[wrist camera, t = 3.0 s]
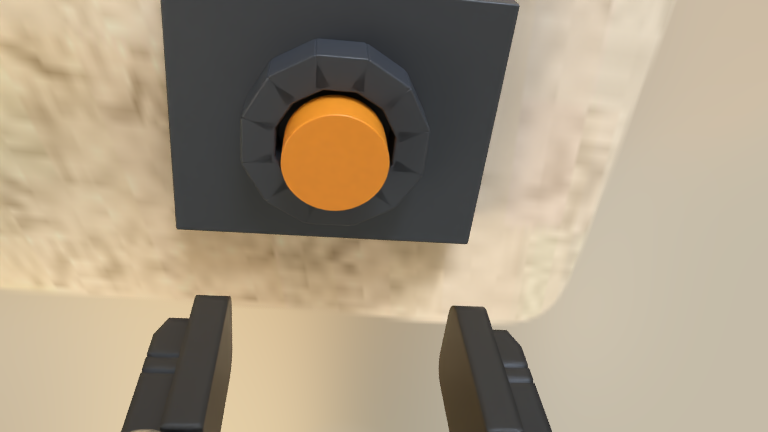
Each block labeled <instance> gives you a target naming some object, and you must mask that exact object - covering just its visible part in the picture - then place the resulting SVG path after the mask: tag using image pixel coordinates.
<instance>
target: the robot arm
mask: <svg viewBox="0 0 768 432" xmlns="http://www.w3.org/2000/svg"><path fill="white" fill-rule="evenodd" d="M231 361H232V305H231V297H230V296H208V295H196V297H195V300H194V303H193V307H192V311H191V314H190V318H189V319H187V318H169V319H168V320H167V321H166V322H165V323H164V324H163V325H162V326H161V327H160V328H159V329H158V330H157V331H156V332H155V333H154V334H153V337H152V340H151V343H150V346H149V350H148V352H147V357H146V359H145V362H144V365H143V368H142V373H141V374H140V377H139V380H138V383H137V386H136V389H135V392H134V395H133V398H132V401H131V404H130V407H129V410H128V413H127V416H126V419H125V422H124V425H123V428H122V431H121V432H220V431H221V425H222V419H223V413H224V408H225V402H226V395H227V390H228V384H229V379H230V372H231ZM439 379H440V386H441V391H442V396H443V401H444V406H445V411H446V416H447V421H448V426H449V432H552V430H551V428H550V425H549V422H548V419H547V416H546V414H545V411H544V408H543V405H542V403H541V400H540V397H539V394H538V392H537V389H536V386H535V384H534V383H533V378H532V375H531V372H530V370H529V368H528V364H527V361H526V358H525V356H524V353H523V350H522V348H521V346H520V345H519V344H518V343H517V341H515V339H514V338H513V337H512V336H511V335H510V334H509V332H508V331H507V330H492V327H491V323H490V320H489V317H488V314H487V311H486V309H485V308H484V307H473V306H452V307H451V308H450V311H449V315H448V319H447V324H446V329H445V333H444V338H443V343H442V347H441V352H440V358H439Z"/></svg>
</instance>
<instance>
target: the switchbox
mask: <svg viewBox="0 0 768 432" xmlns="http://www.w3.org/2000/svg"><path fill="white" fill-rule="evenodd" d="M518 11H519V4H518V3H517V2H516V1H515V0H161V12H162V27H163V41H164V56H165V71H166V85H167V100H168V114H169V129H170V143H171V158H172V172H173V187H174V201H175V216H176V228H177V229H183V230H203V231H222V232H242V233H261V234H280V235H300V236H319V237H339V238H358V239H377V240H397V241H416V242H435V243H455V244H467V243H468V239H469V235H470V230H471V226H472V221H473V217H474V212H475V207H476V203H477V198H478V194H479V189H480V185H481V180H482V175H483V171H484V166H485V162H486V157H487V153H488V148H489V143H490V139H491V134H492V130H493V125H494V121H495V116H496V111H497V107H498V102H499V98H500V93H501V89H502V84H503V80H504V75H505V70H506V66H507V61H508V57H509V52H510V48H511V43H512V38H513V34H514V29H515V25H516V20H517V16H518ZM325 95H344V96H348V97H352V98H355V99H357V100H359V101H361V102H363V103H365V104H366V105H367V106H369V107H370V108H371V109H372V110H373V111H374V112H375V113H376V115H377V116H378V117H379V119H380V121H381V122H382V125H383V127H384V131H385V135H386V141H387V147H388V152H389V160H390V164H389V172H388V175H387V178H386V181H385V183H384V184H383V186H382V188H381V189H380V190H379V192H378V193H377V194H376V195H375V196H374V197H372V198H371V199H370V200H369V201H367V202H366V203H364V204H362V205H360V206H358V207H355V208H352V209H348V210H341V211H330V210H323V209H319V208H316V207H313V206H311V205H309V204H306V203H305V202H303V201H302V200H300V199H299V198H298V197H297V196H296V195H295V194H294V193H293V192H292V191H291V190H290V189H289V187H288V186H287V184H286V182H285V180H284V177H283V175H282V170H281V153H282V146H283V138H284V132H285V128H286V125H287V123H288V121H289V119H290V117H291V116H292V115H293V113H294V112H295V111H296V110H297V109H298V108H299V107H300V106H302V105H303V104H304V103H306V102H308V101H310V100H312V99H314V98H317V97H320V96H325Z"/></svg>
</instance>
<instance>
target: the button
mask: <svg viewBox="0 0 768 432" xmlns="http://www.w3.org/2000/svg"><path fill="white" fill-rule="evenodd" d="M389 164H390V160H389V152H388V147H387V141H386V135H385V131H384V127H383V125H382V122H381V121H380V119H379V117H378V116H377V115H376V113H375V112H374V111H373V110H372V109H371V108H370V107H369V106H367V105H366V104H365V103H363V102H361V101H359V100H357V99H355V98H352V97H348V96H344V95H325V96H320V97H317V98H314V99H312V100H310V101H308V102H306V103H304V104H303V105H302V106H300V107H299V108H298V109H297V110H296V111H295V112H294V113H293V115H292V116H291V117H290V119H289V121H288V123H287V125H286V128H285V132H284V138H283V146H282V153H281V170H282V175H283V177H284V180H285V182H286V184H287V186H288V187H289V189H290V190H291V191H292V192H293V193H294V194H295V195H296V196H297V197H298V198H299V199H300V200H302V201H303V202H305V203H306V204H309V205H311V206H313V207H316V208H319V209H323V210H330V211H341V210H348V209H352V208H355V207H358V206H360V205H362V204H364V203H366V202H367V201H369V200H370V199H371V198H372V197H374V196H375V195H376V194H377V193H378V192H379V190H380V189H381V188H382V186H383V184H384V183H385V181H386V178H387V175H388V172H389Z"/></svg>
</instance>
